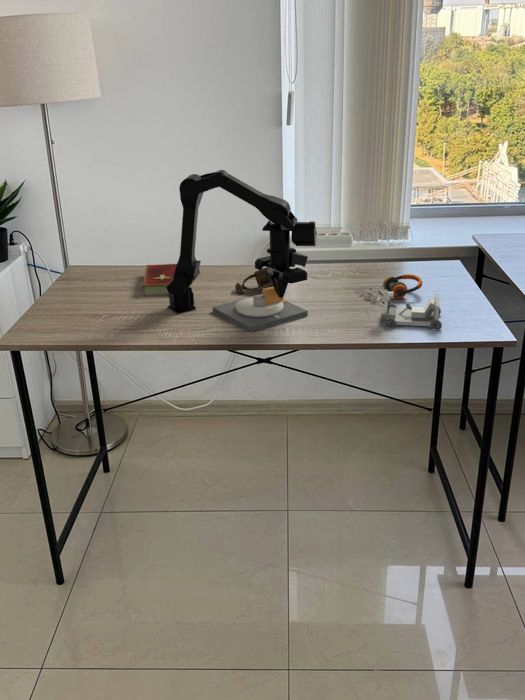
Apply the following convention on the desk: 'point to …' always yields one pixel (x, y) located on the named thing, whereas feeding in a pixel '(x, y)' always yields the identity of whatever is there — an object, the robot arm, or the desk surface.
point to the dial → (261, 304)
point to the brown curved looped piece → (260, 278)
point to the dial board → (259, 323)
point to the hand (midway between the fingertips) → (281, 297)
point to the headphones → (395, 287)
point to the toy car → (410, 313)
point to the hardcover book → (158, 278)
